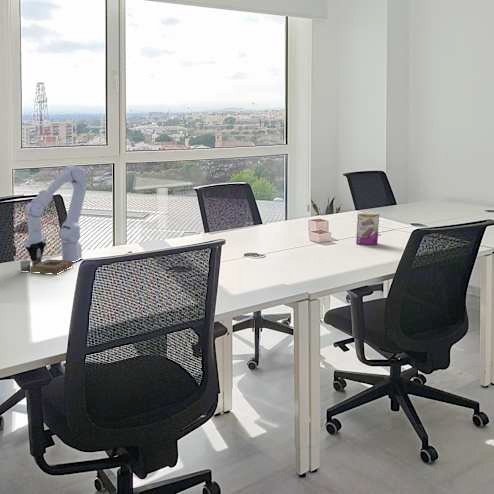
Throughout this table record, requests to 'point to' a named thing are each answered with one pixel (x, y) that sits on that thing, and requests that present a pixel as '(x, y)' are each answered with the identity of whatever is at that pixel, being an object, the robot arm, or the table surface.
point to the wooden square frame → (51, 266)
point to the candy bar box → (367, 228)
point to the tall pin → (37, 257)
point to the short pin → (25, 265)
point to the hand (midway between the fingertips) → (36, 259)
